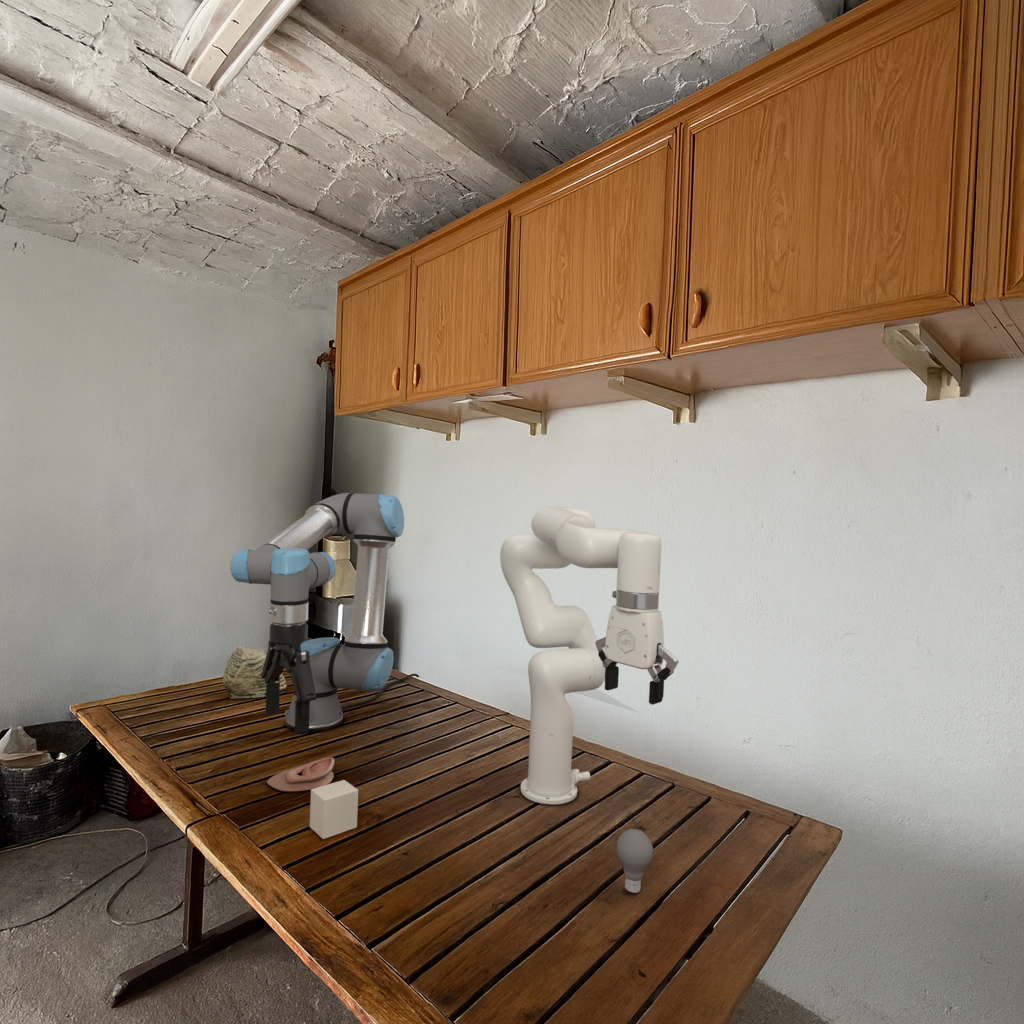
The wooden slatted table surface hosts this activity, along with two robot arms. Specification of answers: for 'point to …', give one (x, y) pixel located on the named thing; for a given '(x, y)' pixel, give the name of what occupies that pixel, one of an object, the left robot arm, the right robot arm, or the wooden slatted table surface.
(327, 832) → the brick
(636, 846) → the light bulb
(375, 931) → the wooden slatted table surface
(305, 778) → the anatomical model
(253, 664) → the fossil
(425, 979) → the wooden slatted table surface
